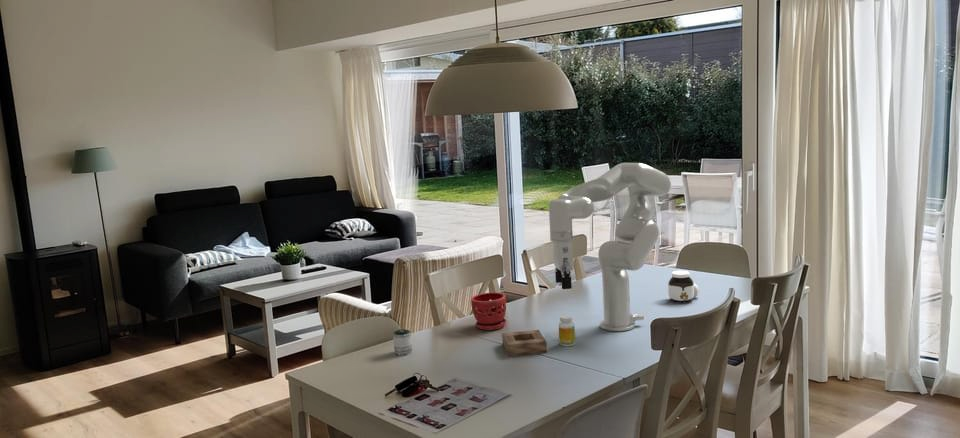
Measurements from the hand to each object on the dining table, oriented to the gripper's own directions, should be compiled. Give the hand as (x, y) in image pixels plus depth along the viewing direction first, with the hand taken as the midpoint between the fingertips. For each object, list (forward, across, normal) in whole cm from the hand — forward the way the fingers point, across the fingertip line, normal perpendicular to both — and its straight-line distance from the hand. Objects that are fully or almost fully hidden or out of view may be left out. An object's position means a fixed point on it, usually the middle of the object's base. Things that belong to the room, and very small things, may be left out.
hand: (563, 285), depth 245 cm
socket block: (+21, 0, +15) cm, 25 cm away
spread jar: (+20, +40, -58) cm, 73 cm away
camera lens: (+21, +8, +56) cm, 60 cm away
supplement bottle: (+21, 0, 0) cm, 21 cm away
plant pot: (+21, +28, +23) cm, 42 cm away
